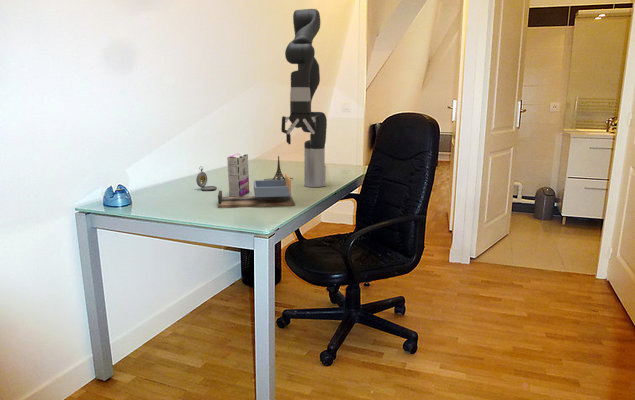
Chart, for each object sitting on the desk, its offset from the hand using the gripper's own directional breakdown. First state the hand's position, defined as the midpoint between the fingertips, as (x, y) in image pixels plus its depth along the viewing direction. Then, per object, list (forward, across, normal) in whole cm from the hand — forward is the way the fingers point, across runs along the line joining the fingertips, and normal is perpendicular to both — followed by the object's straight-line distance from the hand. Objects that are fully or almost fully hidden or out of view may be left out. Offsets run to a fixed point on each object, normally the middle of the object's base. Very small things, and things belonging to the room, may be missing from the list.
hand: (300, 144), depth 171 cm
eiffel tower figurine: (+23, +5, -48) cm, 53 cm away
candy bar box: (+22, +24, -16) cm, 36 cm away
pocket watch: (+22, +38, -28) cm, 52 cm away
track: (+22, +17, 0) cm, 28 cm away
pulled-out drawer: (+21, +11, 0) cm, 24 cm away
